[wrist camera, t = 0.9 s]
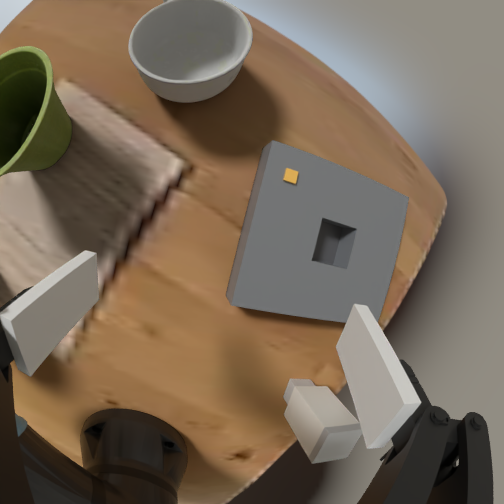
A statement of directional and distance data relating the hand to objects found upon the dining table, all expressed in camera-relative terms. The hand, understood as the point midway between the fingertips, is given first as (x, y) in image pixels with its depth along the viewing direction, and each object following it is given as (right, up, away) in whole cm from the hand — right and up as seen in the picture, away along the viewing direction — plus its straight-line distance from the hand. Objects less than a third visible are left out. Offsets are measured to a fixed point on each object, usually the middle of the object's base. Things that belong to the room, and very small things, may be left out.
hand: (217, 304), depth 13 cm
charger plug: (+7, -15, +20) cm, 26 cm away
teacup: (-6, +24, +12) cm, 27 cm away
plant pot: (-21, +15, +9) cm, 27 cm away
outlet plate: (+9, +4, +18) cm, 21 cm away
